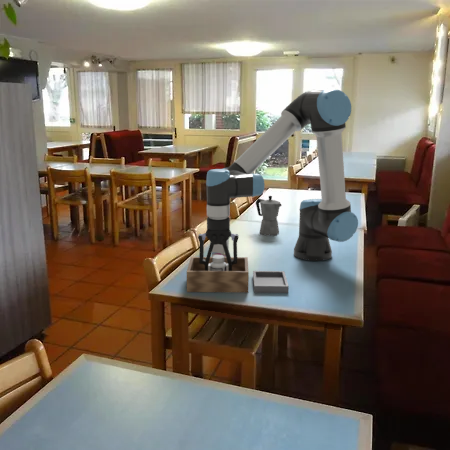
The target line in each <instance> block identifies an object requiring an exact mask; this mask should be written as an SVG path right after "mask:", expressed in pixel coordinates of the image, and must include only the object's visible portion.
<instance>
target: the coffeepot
mask: <svg viewBox="0 0 450 450" xmlns="http://www.w3.org/2000/svg"><path fill="white" fill-rule="evenodd" d="M272 198H273V196H272V195H268V199H263V198H262V199H261V198H258V199H256V201H255V207H256V209H257V210H256V211H257V215H258V216H260V217H262V219H261V223H260V228H259V234H261V235H263V236H277V235H279V233H280V229H279V221H278V216H279V210H280V207H282V204H281V202H280V201H278V200H275V199H272Z"/></svg>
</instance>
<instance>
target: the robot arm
mask: <svg viewBox="0 0 450 450" xmlns="http://www.w3.org/2000/svg"><path fill="white" fill-rule="evenodd" d="M351 114H352V103H351V100H350V97H349V96H348V95H347V94H346V93H345V92H344V91H342V90H340V89H336V88H335V89H333V88H324V89H309V90H307V91H305V92H302V93H301V94H300V95H299V96H297V97H296V98H295V99H293V101H291V102H290V103H289V104H288V105H287V106H286V107H285V108H284V109H283V110H282V111H281V112H280V117H278V118H277V120H276V121H274V122H273V124H271V125H270V127H268V128H267V129H266V130H265V132H263V133H262V135H260V136H259V137H258V139H256V140H255V141H254V142H253V143H252V144H251V145H250V146H249V147H248V148H247V149H246V150H245V151H244V152H243V153H242V154H240V156H238V158H236V160H235V161H234V162H232V164H231V165H229V166H228V167H224V168H215V169H209V170H208V171H207V172H206V173H207V174H206V181H205V185H206V231H205V233H198V236H197V239H198V241H199V256H198V257H199V263H200V264H204V265H205V271H211V263H209V260H210V257H212V250H213V246H214V245H216V244H220V245H223V248H224V251H225V255H226V258H227V262H228V264H226V271H232V265H233V264H237V257H238V240H239V234H238V233H232V231H231V230H230V229H231V225H230V223H231V218H230V215H231V214H230V212H231V211H230V210H231V209H230V207H231V205H230V204H231V203H230V202H231V199H236V198H248V197H249V198H250V197H251V198H254V197H258V196H261V195H263V193H264V191H265V186H266V185H265V179H264V178H263V175H262V174H260V173H254V172H255V171H256V170H257V169H259V168H260V166H261V165H263V163H264V162H265V161H266V160H268V159H269V157H271V156H272V155H274V152H276V151H277V150H278V149H280V147H282V145H283V144H284V143H285V142H286V141H287V140H288V139H289V138H290V137H291V136H292V135H294V133H295V132H301V130H302V129H303V128H304V127H305V128H306V127H307V126H308V125H310V128H311V130H310V131H311V133H312V134H314V135H315V137H316V147H317V157H318V159H317V161H318V171H319V172H318V173H319V183H320V194H321V195H320V197H321V198H312V199H304V200H302V201H301V202H300V206H299V223H298V224H299V226H298V227H299V228H298V237H297V240H296V242H295V246H294V247H293V256H294V257H296V258H297V259H300V260H304V261H310V262H311V261H312V262H320V261H322V262H323V261H327V260H330V259H331V258H332V254H333V251H332V246H331V243H330V240H331V241H335V242H339V243H343V242H346V241H349V240H350V239H352V237H353V236H354V234H355V233H357V231H358V227H359V220H358V219H359V218H358V216H357V215H356V214H355V213H354V212H352V209H351V208H352V207H351V202H350V201H349V200H348V199H347V198H346V197H347V196H346V179H345V178H346V177H345V166H344V163H345V162H344V150H343V132H344V130H345V129H346V128H347V127H346V125H347V124H346V122H347V121H348V120H349V117H351ZM206 238H207V239H208V240H209V242H210V243H209V247H208V250H207V254H206V256H204V247H205V244H204V243H205V240H206ZM230 238H231V241H232V249H233V257H234V259H233V260H231V257H232V256H231V253H230V250H229V248H228V246H227V242H226V241H227V240H228V239H229V240H230ZM203 257H206V260H204V259H203Z"/></svg>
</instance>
